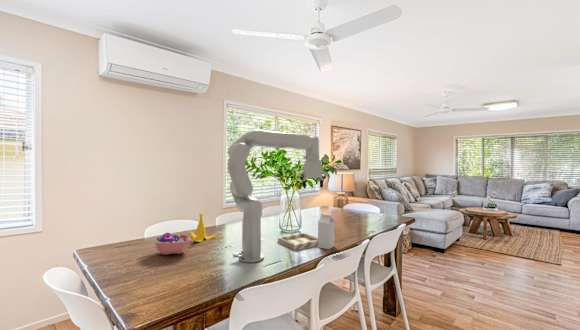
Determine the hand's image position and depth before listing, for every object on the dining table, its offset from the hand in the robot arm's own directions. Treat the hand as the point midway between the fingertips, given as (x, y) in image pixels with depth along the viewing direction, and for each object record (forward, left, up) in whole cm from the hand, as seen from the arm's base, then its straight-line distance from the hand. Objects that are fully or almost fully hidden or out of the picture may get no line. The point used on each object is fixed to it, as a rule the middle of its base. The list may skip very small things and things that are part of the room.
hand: (313, 187), depth 161 cm
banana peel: (-46, +52, -35) cm, 78 cm away
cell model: (-69, +34, -35) cm, 85 cm away
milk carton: (+8, -3, -35) cm, 36 cm away
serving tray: (-1, +11, -35) cm, 37 cm away
